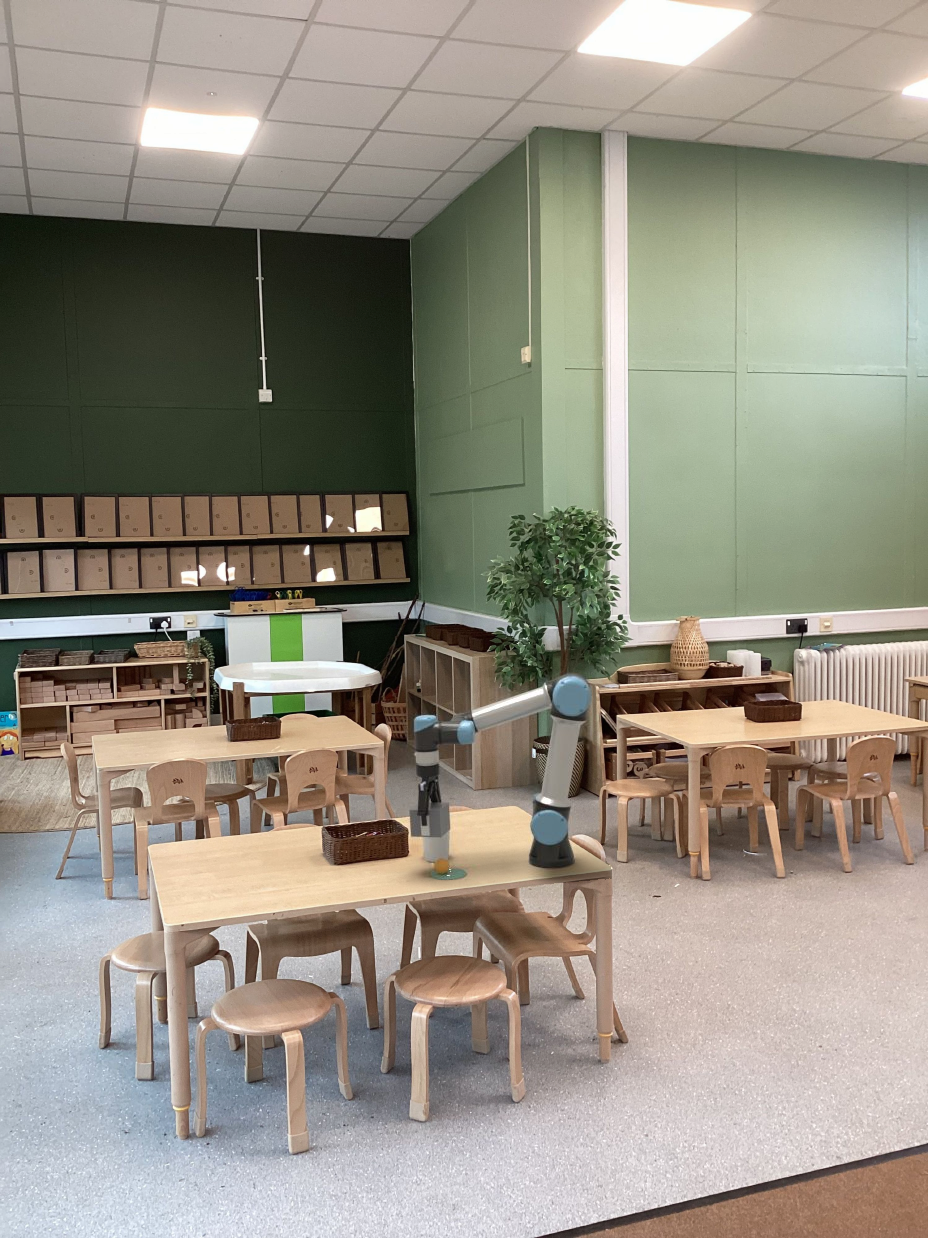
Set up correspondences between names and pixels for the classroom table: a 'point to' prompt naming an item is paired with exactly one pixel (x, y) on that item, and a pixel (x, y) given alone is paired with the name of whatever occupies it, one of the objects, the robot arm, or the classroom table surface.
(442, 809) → the grey matte cube
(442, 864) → the ball
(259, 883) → the classroom table surface
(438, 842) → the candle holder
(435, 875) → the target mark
